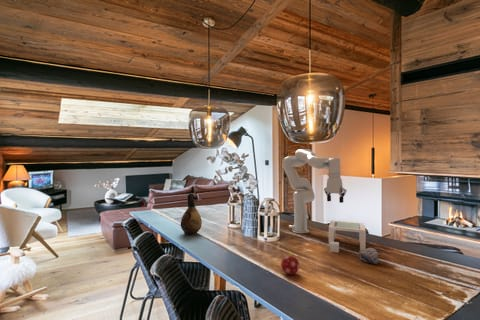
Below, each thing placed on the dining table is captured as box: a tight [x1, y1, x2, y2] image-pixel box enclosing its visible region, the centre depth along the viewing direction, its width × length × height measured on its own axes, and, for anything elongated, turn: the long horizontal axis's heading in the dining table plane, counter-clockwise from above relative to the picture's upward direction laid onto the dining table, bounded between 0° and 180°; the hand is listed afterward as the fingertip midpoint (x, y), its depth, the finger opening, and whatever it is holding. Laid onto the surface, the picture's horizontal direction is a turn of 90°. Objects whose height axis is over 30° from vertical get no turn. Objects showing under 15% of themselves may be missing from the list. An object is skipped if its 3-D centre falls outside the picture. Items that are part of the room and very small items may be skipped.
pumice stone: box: [358, 247, 380, 265], centre depth 152 cm, size 10×8×10 cm
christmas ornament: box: [280, 252, 300, 276], centre depth 134 cm, size 9×9×10 cm
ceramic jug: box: [180, 192, 203, 237], centre depth 205 cm, size 17×15×30 cm
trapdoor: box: [335, 221, 359, 229], centre depth 183 cm, size 15×14×1 cm
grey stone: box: [329, 241, 340, 254], centre depth 169 cm, size 5×5×5 cm
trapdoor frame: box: [328, 220, 367, 251], centre depth 183 cm, size 22×21×12 cm
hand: (335, 201), depth 185 cm, fingers open, 9 cm apart
